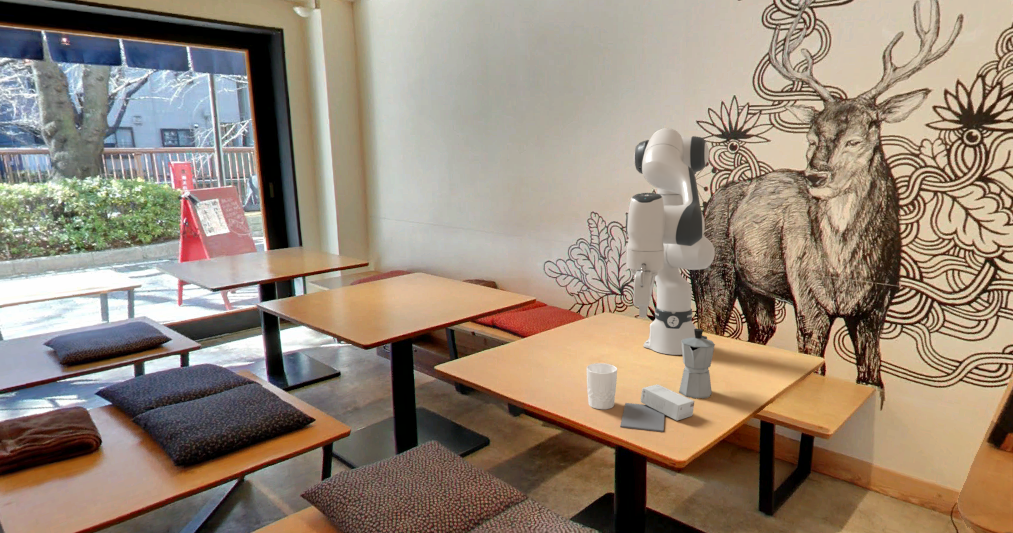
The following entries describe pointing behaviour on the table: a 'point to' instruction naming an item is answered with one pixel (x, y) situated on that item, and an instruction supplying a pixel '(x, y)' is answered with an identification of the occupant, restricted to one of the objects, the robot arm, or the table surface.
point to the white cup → (601, 385)
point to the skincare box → (667, 402)
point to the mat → (642, 418)
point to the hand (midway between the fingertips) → (643, 316)
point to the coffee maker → (696, 366)
